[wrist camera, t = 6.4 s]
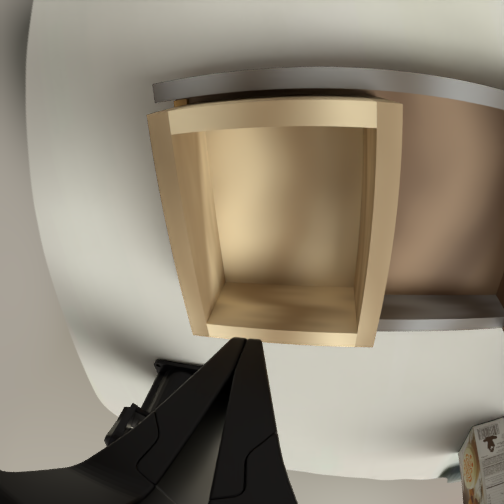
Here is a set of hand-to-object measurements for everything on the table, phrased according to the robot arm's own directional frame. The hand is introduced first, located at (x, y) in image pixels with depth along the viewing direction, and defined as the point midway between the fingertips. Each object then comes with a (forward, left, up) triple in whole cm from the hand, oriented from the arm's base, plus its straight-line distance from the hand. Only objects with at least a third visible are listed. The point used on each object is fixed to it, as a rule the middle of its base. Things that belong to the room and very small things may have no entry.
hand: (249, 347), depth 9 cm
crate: (0, 0, -11) cm, 11 cm away
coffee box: (+27, -32, -12) cm, 44 cm away
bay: (+5, 0, -12) cm, 13 cm away
